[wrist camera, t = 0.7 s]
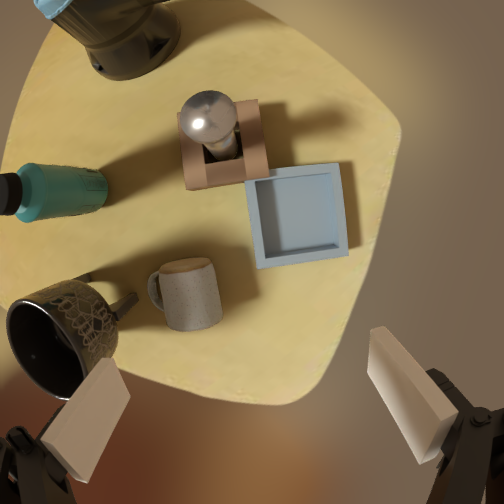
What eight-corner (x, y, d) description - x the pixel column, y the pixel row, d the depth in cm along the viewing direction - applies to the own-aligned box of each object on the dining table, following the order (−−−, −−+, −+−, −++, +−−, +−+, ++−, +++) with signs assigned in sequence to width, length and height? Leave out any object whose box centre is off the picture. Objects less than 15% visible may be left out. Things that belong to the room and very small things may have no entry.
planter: (129, 254, 37) (55, 291, 20) (155, 334, 40) (107, 406, 22) (67, 269, 38) (-7, 305, 20) (92, 340, 40) (36, 397, 23)
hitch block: (184, 121, 34) (176, 112, 30) (256, 109, 34) (257, 99, 30) (193, 190, 36) (186, 189, 32) (267, 179, 35) (269, 176, 31)
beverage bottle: (116, 169, 35) (18, 153, 15) (113, 214, 36) (14, 231, 16) (81, 170, 35) (-16, 161, 15) (79, 213, 36) (-19, 228, 16)
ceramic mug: (216, 251, 37) (205, 264, 30) (226, 307, 39) (219, 331, 31) (145, 262, 38) (121, 276, 30) (158, 314, 39) (139, 337, 32)
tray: (243, 175, 35) (243, 172, 32) (331, 165, 35) (338, 162, 32) (256, 263, 37) (257, 269, 35) (341, 251, 37) (348, 255, 34)
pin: (205, 135, 34) (177, 96, 20) (239, 129, 34) (232, 86, 19) (210, 167, 35) (182, 146, 20) (244, 162, 35) (239, 136, 20)
